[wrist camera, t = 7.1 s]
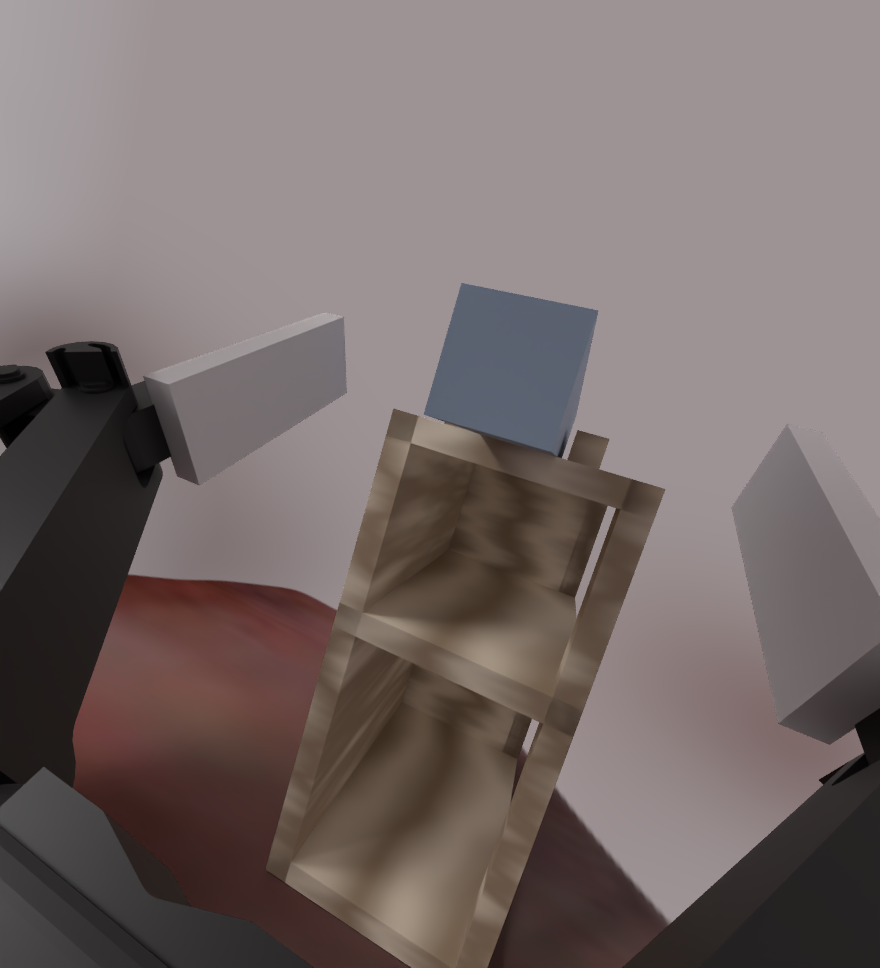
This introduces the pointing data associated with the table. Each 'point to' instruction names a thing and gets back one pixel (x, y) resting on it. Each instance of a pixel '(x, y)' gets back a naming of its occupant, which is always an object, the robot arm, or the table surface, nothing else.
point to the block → (513, 368)
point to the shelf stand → (454, 683)
